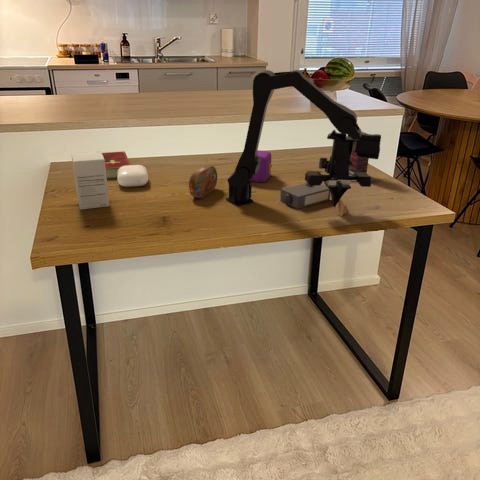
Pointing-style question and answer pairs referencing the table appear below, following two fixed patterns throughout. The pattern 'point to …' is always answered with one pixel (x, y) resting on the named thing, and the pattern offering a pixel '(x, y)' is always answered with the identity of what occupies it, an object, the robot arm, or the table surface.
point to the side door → (341, 207)
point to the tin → (203, 181)
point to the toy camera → (263, 167)
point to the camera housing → (304, 195)
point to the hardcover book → (114, 162)
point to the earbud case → (132, 175)
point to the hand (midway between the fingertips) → (334, 206)
